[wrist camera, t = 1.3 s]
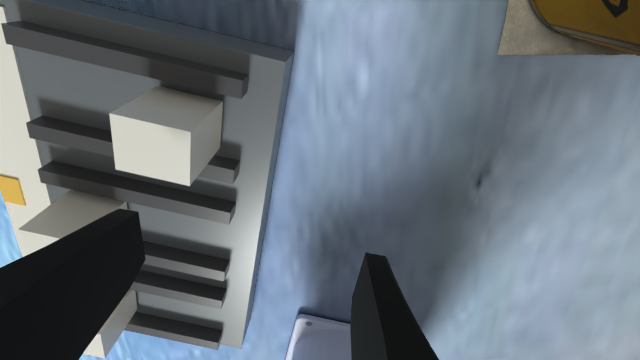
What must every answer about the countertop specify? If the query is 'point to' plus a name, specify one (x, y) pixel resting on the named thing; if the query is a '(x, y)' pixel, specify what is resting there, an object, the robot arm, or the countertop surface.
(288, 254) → the countertop surface
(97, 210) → the tab middle
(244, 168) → the switch panel
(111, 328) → the tab back
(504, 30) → the condiment
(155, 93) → the tab front
